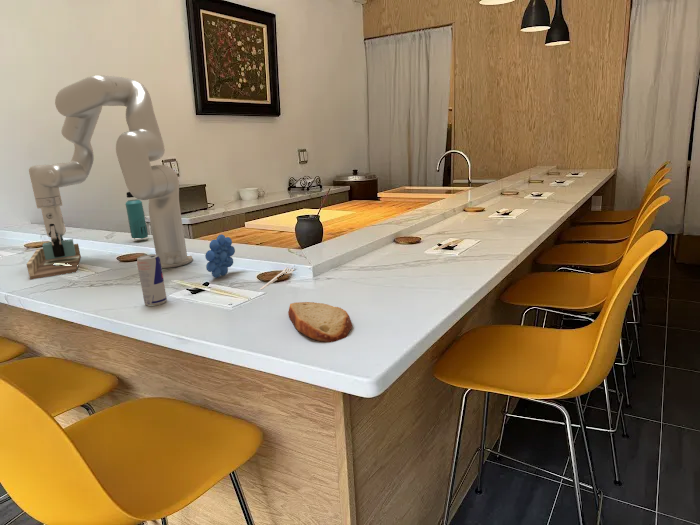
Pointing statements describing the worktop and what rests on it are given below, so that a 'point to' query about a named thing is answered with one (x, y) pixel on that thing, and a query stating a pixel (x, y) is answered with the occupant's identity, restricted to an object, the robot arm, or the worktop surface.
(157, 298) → the energy drink
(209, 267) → the grapes
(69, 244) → the teal block
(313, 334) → the bread slice
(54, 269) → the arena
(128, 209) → the beverage bottle
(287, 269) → the fork
